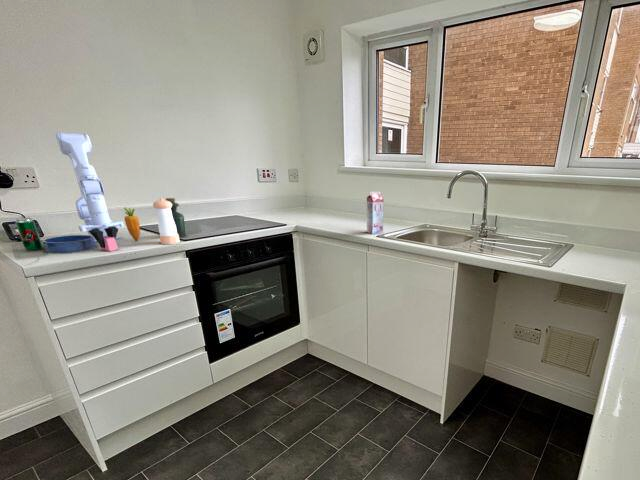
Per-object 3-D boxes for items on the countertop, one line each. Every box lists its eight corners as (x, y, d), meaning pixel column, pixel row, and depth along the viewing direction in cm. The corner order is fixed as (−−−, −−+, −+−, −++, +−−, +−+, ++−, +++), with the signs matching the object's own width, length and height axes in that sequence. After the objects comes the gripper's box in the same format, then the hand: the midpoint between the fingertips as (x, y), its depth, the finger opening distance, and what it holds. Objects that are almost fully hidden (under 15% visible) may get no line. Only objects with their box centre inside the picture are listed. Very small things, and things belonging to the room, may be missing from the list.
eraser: (108, 248, 144) (105, 235, 142) (117, 249, 142) (114, 237, 140) (100, 249, 142) (97, 237, 140) (109, 251, 139) (106, 238, 138)
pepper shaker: (177, 244, 155) (168, 199, 148) (158, 244, 153) (148, 199, 146) (181, 240, 161) (173, 197, 155) (163, 241, 159) (154, 197, 153)
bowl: (82, 242, 151) (80, 233, 150) (104, 247, 146) (101, 237, 144) (37, 249, 138) (34, 239, 137) (58, 254, 133) (55, 244, 131)
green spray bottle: (169, 239, 164) (161, 199, 157) (166, 236, 170) (158, 197, 163) (189, 237, 169) (182, 198, 162) (185, 234, 174) (178, 197, 168)
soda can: (46, 248, 141) (36, 218, 136) (33, 251, 136) (22, 220, 131) (35, 247, 141) (24, 217, 137) (21, 250, 136) (10, 219, 132)
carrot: (146, 240, 159) (138, 207, 153) (135, 242, 154) (126, 208, 149) (138, 239, 160) (130, 206, 155) (127, 241, 156) (118, 207, 150)
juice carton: (383, 232, 196) (383, 192, 188) (372, 233, 192) (372, 192, 184) (376, 230, 201) (377, 191, 193) (366, 231, 197) (366, 191, 189)
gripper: (82, 215, 129) (93, 251, 134) (125, 211, 141) (133, 244, 146) (71, 213, 131) (82, 249, 136) (114, 210, 144) (122, 242, 149)
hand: (108, 246), depth 141 cm, fingers closed on eraser, 3 cm apart
